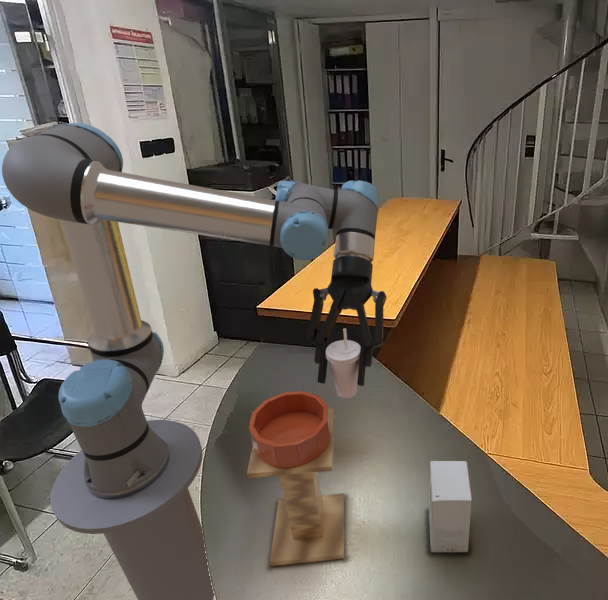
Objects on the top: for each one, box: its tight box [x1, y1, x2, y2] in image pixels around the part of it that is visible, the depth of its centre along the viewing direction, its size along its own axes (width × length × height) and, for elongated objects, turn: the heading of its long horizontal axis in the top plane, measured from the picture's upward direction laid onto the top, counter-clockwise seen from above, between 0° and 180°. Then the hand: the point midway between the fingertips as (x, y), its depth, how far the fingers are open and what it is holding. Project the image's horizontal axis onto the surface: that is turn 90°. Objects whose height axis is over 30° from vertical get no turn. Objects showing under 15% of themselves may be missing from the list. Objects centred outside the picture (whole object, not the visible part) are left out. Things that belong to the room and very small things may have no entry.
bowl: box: [248, 390, 331, 468], centre depth 73 cm, size 11×11×4 cm
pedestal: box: [246, 408, 345, 567], centre depth 79 cm, size 12×12×22 cm
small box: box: [428, 460, 473, 553], centre depth 81 cm, size 8×6×13 cm
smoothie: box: [326, 327, 361, 399], centre depth 87 cm, size 6×6×14 cm
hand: (340, 383), depth 85 cm, fingers closed on smoothie, 6 cm apart
